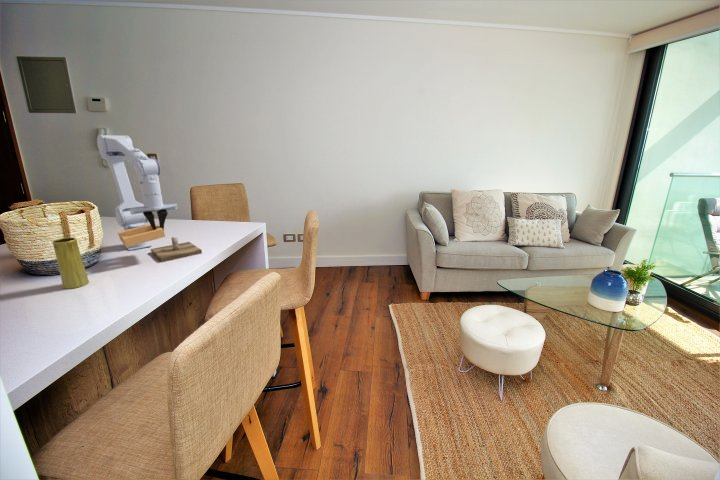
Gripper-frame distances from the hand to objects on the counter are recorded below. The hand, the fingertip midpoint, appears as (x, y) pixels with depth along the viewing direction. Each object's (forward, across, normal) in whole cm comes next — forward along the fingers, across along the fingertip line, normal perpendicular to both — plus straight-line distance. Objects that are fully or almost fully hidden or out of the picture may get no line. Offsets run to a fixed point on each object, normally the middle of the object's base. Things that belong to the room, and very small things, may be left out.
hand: (158, 230), depth 117 cm
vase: (+11, -26, -9) cm, 29 cm away
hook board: (+10, +5, +2) cm, 12 cm away
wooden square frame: (+2, -5, +2) cm, 6 cm away
